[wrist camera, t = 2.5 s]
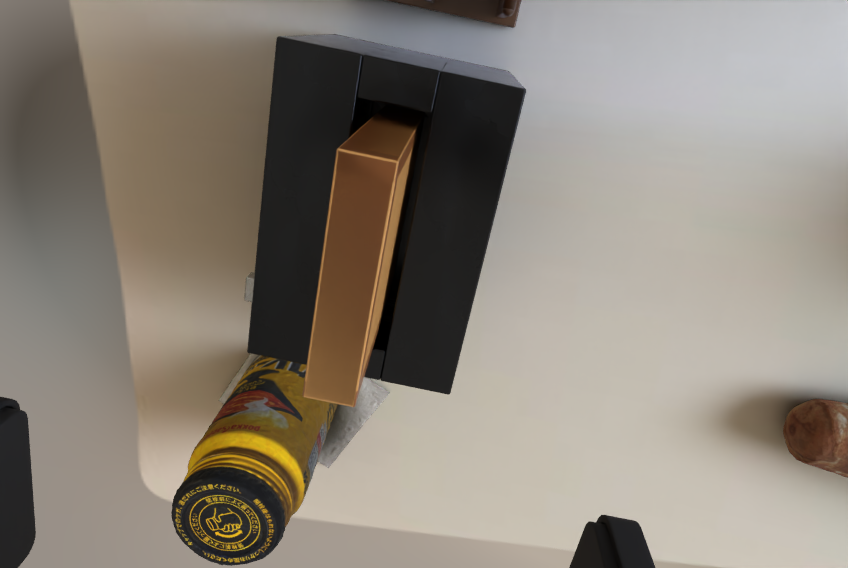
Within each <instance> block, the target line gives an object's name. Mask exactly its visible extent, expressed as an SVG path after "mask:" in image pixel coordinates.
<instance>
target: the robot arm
mask: <svg viewBox="0 0 848 568" xmlns="http://www.w3.org/2000/svg"><path fill="white" fill-rule="evenodd" d="M35 533H36V531H35V517H34V502H33V489H32V474H31V459H30V444H29V429H28V418H27V414H26V413H25V412H24V411H22V410H20V407H19V404H18V403H17V401H15V400H13V399H9V398H4V397H0V568H18V567H19V566H20V564H21V563H22V562H23V561H24V559H25V558H26V557H27V555H28V554H29V552H30V550H31V548H32V546H33V544H34V540H35ZM570 568H655V565H654V563H653V560H652V557H651V554H650V552H649V549H648V546H647V543H646V540H645V538H644V535H643V532H642V529H641V527H640V525H639V523H637V522H636V521H633V520H628V519H622V518H617V517H612V516H607V515H601V516H600V517H599V518H598V520H597V522H596V523H595V522H588V523H587V524H586V526H585V528H584V531H583V534H582V536H581V539H580V541H579V544H578V547H577V549H576V552H575V555H574V557H573V560H572V562H571V565H570Z"/></svg>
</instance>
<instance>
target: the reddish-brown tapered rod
mask: <svg viewBox="0 0 848 568" xmlns="http://www.w3.org/2000/svg"><path fill="white" fill-rule="evenodd" d="M783 434H784V438H785V441H786V444H787V447H788V450H789V452H790V453H791V454H792V455H793V456H794V457H795V458H796V459H797V460H799V461H801V462H803V463H805V464H809V465H812V466H815V467H818V468H821V469H824V470H827V471H830V472H834V473H836V474H839V475H842V476H844V477H847V478H848V403H843V402H837V401H832V400H823V399H812V400H809V401H806V402H804V403H802V404H800V405H798V406H796V407H794V408H793V409H792V410H791V411H790V412H789V413H788V415H787V417H786V419H785V423H784V428H783Z"/></svg>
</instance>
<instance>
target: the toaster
mask: <svg viewBox="0 0 848 568" xmlns="http://www.w3.org/2000/svg"><path fill="white" fill-rule="evenodd" d="M525 93H526V89H525V88H524V87H523V86H522V85H521V84H520V83H519V82H518V80H517V79H516V78H515V77H514V76H513V75H512V74H511V73H510V72H509V71H505V70H501V69H496V68H491V67H487V66H482V65H477V64H473V63H468V62H463V61H458V60H454V59H449V58H444V57H440V56H435V55H430V54H425V53H421V52H416V51H411V50H407V49H402V48H397V47H393V46H388V45H383V44H378V43H374V42H369V41H364V40H360V39H355V38H350V37H345V36H341V35H336V34H328V35H305V36H279V37H277V41H276V52H275V62H274V73H273V83H272V94H271V105H270V115H269V126H268V137H267V147H266V158H265V169H264V179H263V190H262V201H261V211H260V222H259V233H258V243H257V254H256V265H255V273H250V274H249V275H248V276H247V278H246V286H245V297H244V299H245V301H250V302H252V307H251V318H250V329H249V339H248V350H247V351H248V353H251V354H256V355H260V356H265V357H270V358H275V359H280V360H285V361H290V362H294V363H299V364H304V365H307V360H308V353H309V345H310V338H311V331H312V324H313V317H314V309H315V302H316V295H317V288H318V281H319V273H320V266H321V259H322V252H323V245H324V237H325V230H326V223H327V216H328V209H329V201H330V194H331V187H332V180H333V173H334V165H335V157H336V150H337V148H339V147H340V146H341V145H342V144H343V143H344V142H345V141H346V140H348V139H349V138H350V137H351V136H352V135H353V134H354V133H355V132H356V131H358V130H359V129H360V128H361V127H362V126H363V125H364V124H365V123H366V122H368V121H369V120H370V119H371V118H372V117H373V116H374V115H375V114H376V113H378V112H379V111H380V110H381V109H382V108H383V107H384V106H385V105H389V106H394V107H399V108H404V109H408V110H413V111H418V112H422V113H425V116H424V122H423V127H422V131H421V136H420V141H419V147H418V152H417V157H416V162H415V168H414V173H413V178H412V183H411V189H410V194H409V199H408V204H407V210H406V215H405V220H404V225H403V230H402V236H401V241H400V246H399V251H398V257H397V262H396V267H395V273H394V279H393V284H392V287H391V290H390V294H389V297H388V300H387V303H386V307H385V310H384V313H383V317H382V320H381V323H380V326H379V330H378V333H377V336H376V340H375V343H374V346H373V349H372V353H371V356H370V359H369V363H368V366H367V369H366V372H365V376H364V377H367V378H372V379H377V380H380V378H381V381H386V382H390V383H395V384H400V385H405V386H410V387H415V388H420V389H424V390H429V391H434V392H439V393H444V394H450V392H451V388H452V384H453V380H454V376H455V372H456V368H457V364H458V360H459V356H460V352H461V348H462V344H463V340H464V336H465V333H466V329H467V325H468V321H469V317H470V313H471V309H472V305H473V301H474V297H475V293H476V289H477V285H478V281H479V277H480V273H481V269H482V265H483V261H484V257H485V253H486V249H487V245H488V241H489V237H490V233H491V229H492V225H493V221H494V217H495V213H496V209H497V205H498V201H499V197H500V193H501V189H502V185H503V181H504V177H505V173H506V169H507V165H508V161H509V157H510V153H511V149H512V145H513V141H514V137H515V133H516V129H517V125H518V121H519V117H520V113H521V109H522V105H523V101H524V97H525Z"/></svg>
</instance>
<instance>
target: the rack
mask: <svg viewBox="0 0 848 568" xmlns="http://www.w3.org/2000/svg"><path fill="white" fill-rule="evenodd" d="M386 1H391V2H395V3H400V4H405V5H409V6H414V7H419V8H423V9H428V10H433V11H437V12H442V13H447V14H452V15H456V16H461V17H466V18H470V19H475V20H480V21H484V22H489V23H494V24H498V25H503V26H508V27H512V28H513V27H515V25H516V21H517V16H518V12H519V8H520V4H521V0H386Z"/></svg>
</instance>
